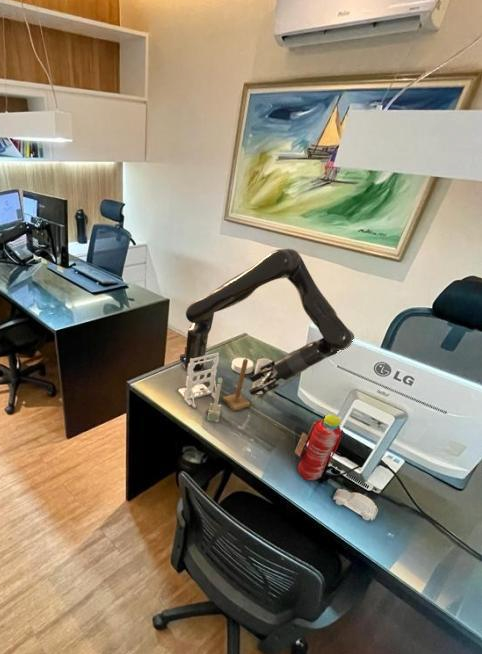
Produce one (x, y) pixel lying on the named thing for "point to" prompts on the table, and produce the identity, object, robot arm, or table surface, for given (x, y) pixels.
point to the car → (357, 503)
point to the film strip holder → (196, 390)
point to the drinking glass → (259, 364)
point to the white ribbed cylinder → (238, 365)
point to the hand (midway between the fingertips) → (250, 386)
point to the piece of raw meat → (318, 447)
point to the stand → (238, 392)
